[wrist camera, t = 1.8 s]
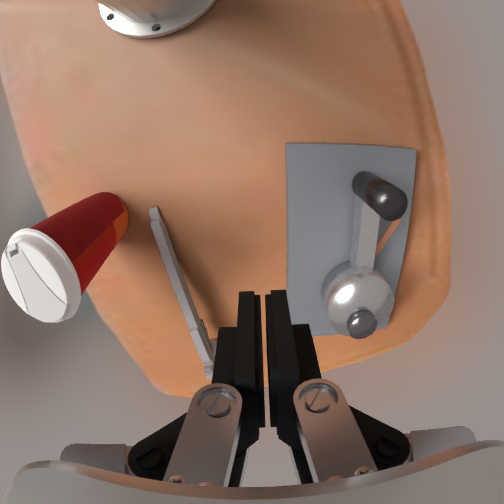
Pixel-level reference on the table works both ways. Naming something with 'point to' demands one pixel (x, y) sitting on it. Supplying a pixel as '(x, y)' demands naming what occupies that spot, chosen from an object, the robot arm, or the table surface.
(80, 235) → the paper cup
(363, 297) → the metal crank handle
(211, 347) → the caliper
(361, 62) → the table surface
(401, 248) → the stand
